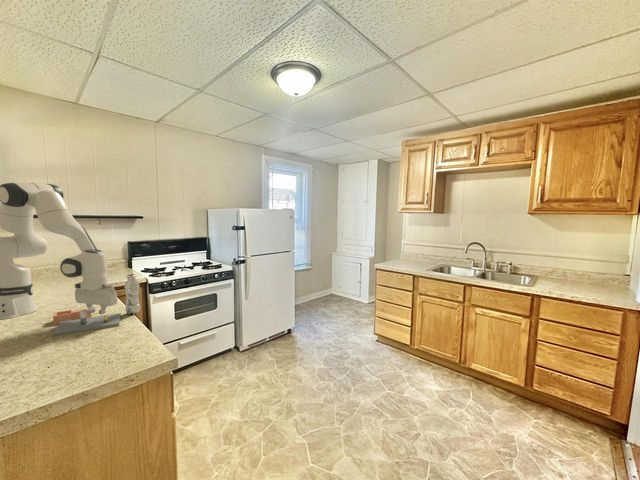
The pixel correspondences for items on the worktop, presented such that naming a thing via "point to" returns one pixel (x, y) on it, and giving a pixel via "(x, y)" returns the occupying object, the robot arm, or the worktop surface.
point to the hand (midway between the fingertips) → (97, 313)
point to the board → (92, 324)
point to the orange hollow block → (68, 315)
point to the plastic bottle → (132, 294)
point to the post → (84, 317)
